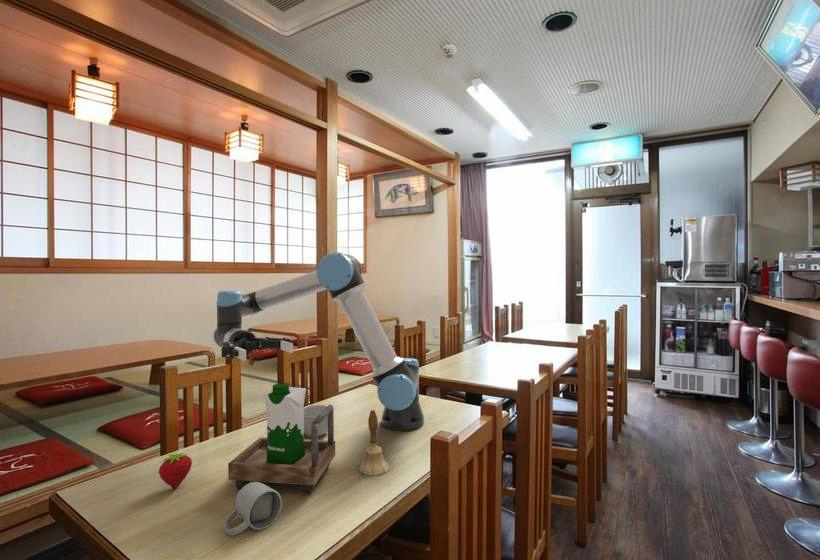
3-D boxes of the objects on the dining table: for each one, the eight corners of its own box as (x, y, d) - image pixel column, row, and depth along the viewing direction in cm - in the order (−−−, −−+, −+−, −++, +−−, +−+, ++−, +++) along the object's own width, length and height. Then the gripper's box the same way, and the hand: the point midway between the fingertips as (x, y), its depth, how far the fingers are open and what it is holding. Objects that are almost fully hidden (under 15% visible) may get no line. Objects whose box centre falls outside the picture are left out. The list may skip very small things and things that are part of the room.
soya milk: (261, 464, 103) (260, 386, 102) (282, 449, 111) (281, 377, 111) (290, 469, 100) (290, 389, 100) (310, 453, 109) (309, 379, 108)
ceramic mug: (264, 505, 93) (263, 472, 93) (282, 519, 88) (281, 485, 88) (217, 527, 86) (216, 492, 85) (234, 545, 80) (233, 507, 80)
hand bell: (364, 478, 105) (364, 417, 105) (355, 465, 113) (354, 408, 113) (393, 471, 109) (393, 413, 109) (382, 459, 116) (382, 404, 116)
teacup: (336, 428, 140) (336, 405, 140) (326, 441, 129) (326, 416, 129) (297, 426, 141) (297, 403, 141) (284, 439, 130) (284, 414, 130)
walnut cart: (336, 465, 112) (335, 402, 112) (315, 497, 96) (314, 423, 96) (260, 461, 115) (259, 399, 115) (228, 491, 99) (227, 419, 99)
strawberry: (197, 484, 103) (197, 445, 103) (166, 498, 96) (166, 457, 96) (184, 478, 106) (184, 440, 106) (154, 491, 99) (153, 451, 99)
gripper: (278, 347, 137) (309, 357, 121) (197, 359, 120) (222, 373, 104) (277, 325, 137) (309, 333, 121) (197, 334, 119) (222, 344, 104)
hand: (269, 351), depth 113 cm, fingers open, 13 cm apart
